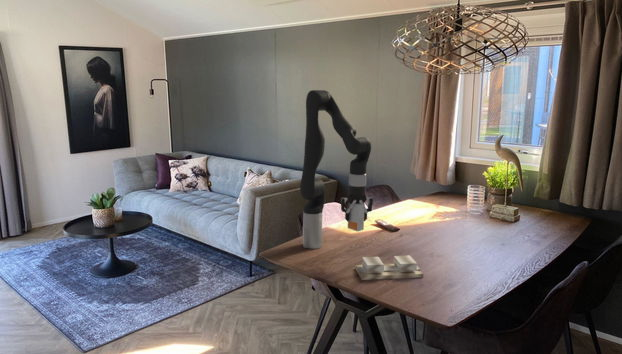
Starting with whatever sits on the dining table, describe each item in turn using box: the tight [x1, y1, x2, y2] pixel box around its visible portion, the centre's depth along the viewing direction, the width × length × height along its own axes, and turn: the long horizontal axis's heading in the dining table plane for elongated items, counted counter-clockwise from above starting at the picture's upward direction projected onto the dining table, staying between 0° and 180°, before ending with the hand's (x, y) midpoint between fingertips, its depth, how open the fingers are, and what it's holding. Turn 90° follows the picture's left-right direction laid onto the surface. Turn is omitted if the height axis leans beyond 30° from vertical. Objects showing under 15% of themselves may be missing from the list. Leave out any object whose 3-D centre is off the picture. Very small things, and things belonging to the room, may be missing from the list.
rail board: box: [355, 255, 424, 281], centre depth 197 cm, size 26×12×6 cm, turn 97°
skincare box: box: [347, 202, 366, 233], centre depth 204 cm, size 6×4×12 cm
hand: (355, 220), depth 204 cm, fingers closed on skincare box, 6 cm apart
